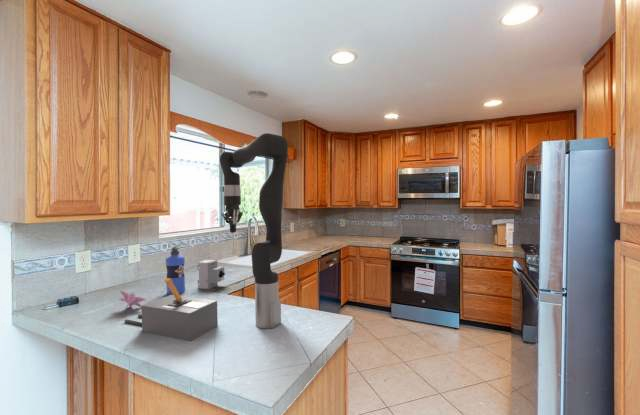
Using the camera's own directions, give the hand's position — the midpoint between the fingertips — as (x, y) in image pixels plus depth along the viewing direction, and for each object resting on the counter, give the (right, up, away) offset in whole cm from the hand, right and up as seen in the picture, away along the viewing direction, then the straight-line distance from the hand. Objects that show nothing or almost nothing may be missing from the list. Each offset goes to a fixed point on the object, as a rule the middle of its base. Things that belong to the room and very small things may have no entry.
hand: (233, 232), depth 139 cm
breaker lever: (-14, -25, -23) cm, 36 cm away
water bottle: (-39, -35, +25) cm, 58 cm away
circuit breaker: (-22, -35, +34) cm, 53 cm away
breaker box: (-21, -36, -20) cm, 46 cm away
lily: (-47, -36, -2) cm, 59 cm away
